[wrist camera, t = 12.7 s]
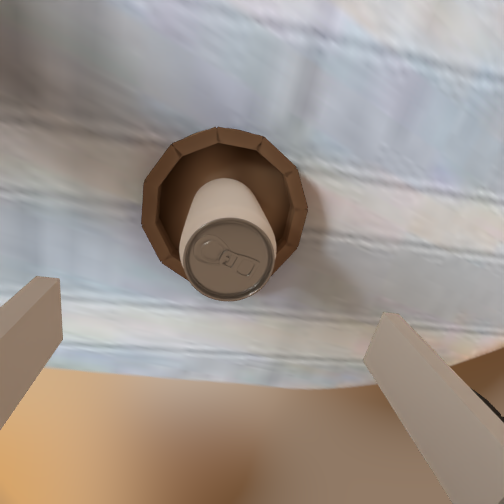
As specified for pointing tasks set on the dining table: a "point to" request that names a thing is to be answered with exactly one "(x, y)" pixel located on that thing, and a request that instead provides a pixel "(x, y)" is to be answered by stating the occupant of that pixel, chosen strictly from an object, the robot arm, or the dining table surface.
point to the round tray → (215, 167)
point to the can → (227, 242)
